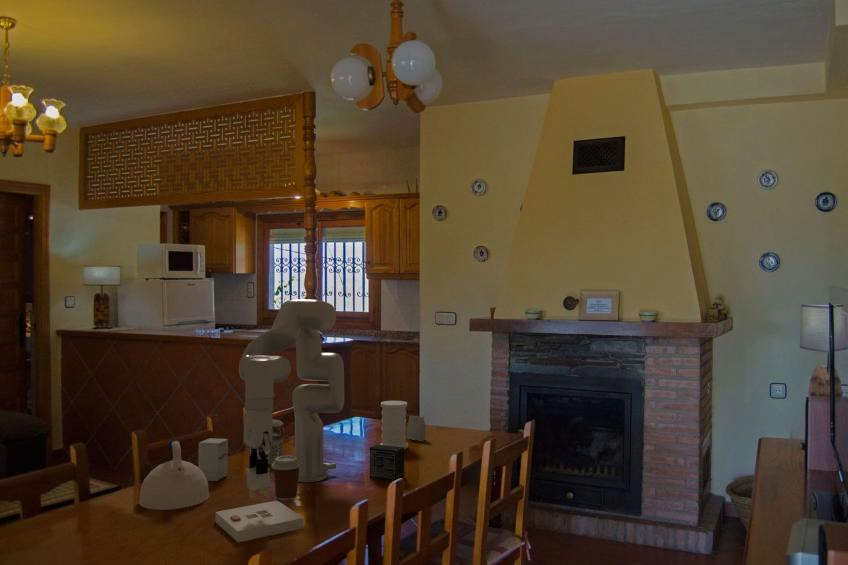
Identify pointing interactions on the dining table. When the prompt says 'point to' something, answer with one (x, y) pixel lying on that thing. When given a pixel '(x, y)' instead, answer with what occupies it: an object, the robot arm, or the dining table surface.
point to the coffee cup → (286, 477)
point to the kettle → (174, 484)
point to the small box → (386, 462)
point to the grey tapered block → (416, 428)
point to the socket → (258, 520)
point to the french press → (276, 441)
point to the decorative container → (394, 423)
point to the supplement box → (213, 458)
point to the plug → (257, 482)
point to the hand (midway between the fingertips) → (258, 471)
